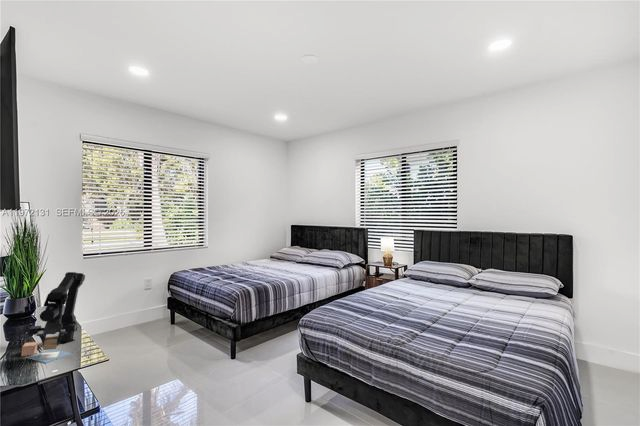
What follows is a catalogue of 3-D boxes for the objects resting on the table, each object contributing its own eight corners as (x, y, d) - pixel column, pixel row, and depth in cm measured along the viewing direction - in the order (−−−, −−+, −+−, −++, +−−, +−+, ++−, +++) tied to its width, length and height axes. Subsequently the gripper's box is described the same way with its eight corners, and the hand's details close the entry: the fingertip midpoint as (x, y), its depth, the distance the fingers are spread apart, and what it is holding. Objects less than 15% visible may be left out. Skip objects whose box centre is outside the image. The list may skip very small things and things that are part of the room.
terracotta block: (24, 352, 163) (25, 342, 163) (36, 351, 165) (38, 341, 165) (21, 356, 158) (22, 346, 159) (33, 355, 161) (35, 345, 161)
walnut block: (45, 346, 162) (46, 336, 162) (57, 345, 164) (59, 335, 165) (43, 350, 158) (44, 340, 158) (55, 348, 160) (57, 339, 160)
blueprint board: (52, 349, 168) (52, 348, 168) (70, 354, 165) (71, 353, 165) (27, 358, 157) (27, 357, 157) (46, 363, 153) (46, 362, 153)
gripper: (26, 321, 150) (21, 354, 149) (74, 318, 160) (70, 349, 159) (33, 314, 160) (28, 345, 159) (78, 312, 169) (74, 341, 168)
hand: (51, 345), depth 161 cm, fingers closed on walnut block, 5 cm apart
